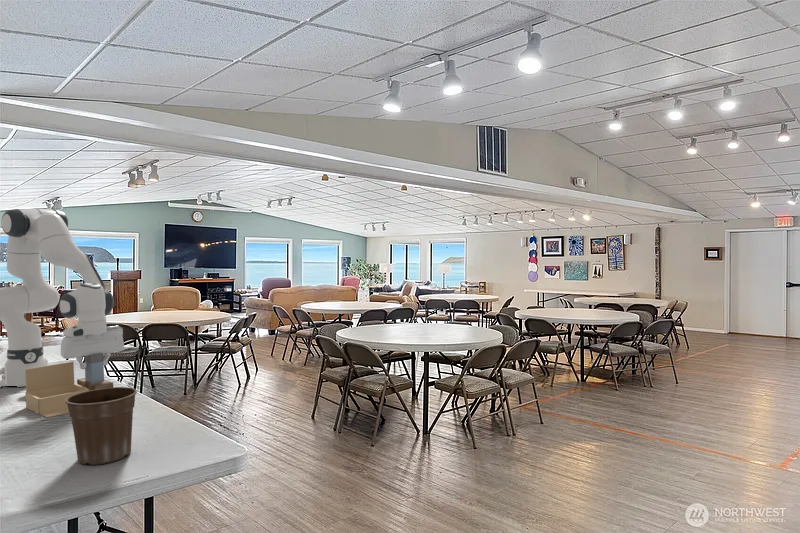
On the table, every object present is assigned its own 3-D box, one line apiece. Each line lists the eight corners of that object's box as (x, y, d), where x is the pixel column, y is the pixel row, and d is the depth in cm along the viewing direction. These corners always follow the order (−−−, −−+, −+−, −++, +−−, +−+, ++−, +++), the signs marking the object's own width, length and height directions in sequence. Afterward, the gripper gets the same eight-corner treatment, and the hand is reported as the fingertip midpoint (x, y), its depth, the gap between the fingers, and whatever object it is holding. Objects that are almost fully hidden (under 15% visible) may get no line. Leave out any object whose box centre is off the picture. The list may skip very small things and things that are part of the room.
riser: (77, 395, 203) (77, 379, 202) (95, 392, 207) (94, 376, 207) (95, 403, 192) (95, 386, 192) (113, 399, 197) (113, 382, 197)
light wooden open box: (25, 407, 189) (23, 369, 189) (75, 397, 201) (73, 361, 200) (45, 418, 176) (44, 377, 176) (98, 406, 188) (96, 368, 188)
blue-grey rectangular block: (85, 380, 200) (84, 353, 200) (97, 378, 203) (96, 351, 203) (92, 383, 196) (91, 355, 196) (104, 381, 199) (103, 353, 199)
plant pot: (60, 457, 143) (57, 395, 143) (126, 440, 155) (124, 383, 154) (78, 475, 132) (75, 407, 131) (148, 456, 143) (146, 393, 142)
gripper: (118, 324, 209) (120, 360, 209) (58, 331, 193) (59, 370, 194) (126, 325, 205) (127, 362, 205) (64, 333, 189) (66, 373, 190)
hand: (94, 366), depth 199 cm, fingers open, 6 cm apart
